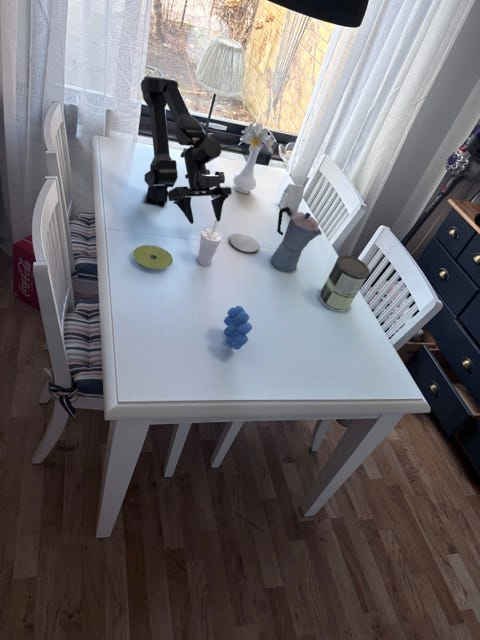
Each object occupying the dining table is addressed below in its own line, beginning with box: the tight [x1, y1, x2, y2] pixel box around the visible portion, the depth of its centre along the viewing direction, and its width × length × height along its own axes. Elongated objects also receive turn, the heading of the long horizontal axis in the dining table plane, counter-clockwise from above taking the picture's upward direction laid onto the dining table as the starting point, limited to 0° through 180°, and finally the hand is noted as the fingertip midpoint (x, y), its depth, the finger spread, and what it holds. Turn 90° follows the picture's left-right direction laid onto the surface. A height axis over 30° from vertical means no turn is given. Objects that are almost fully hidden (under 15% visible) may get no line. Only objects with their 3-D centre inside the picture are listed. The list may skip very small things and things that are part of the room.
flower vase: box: [232, 122, 275, 194], centre depth 181 cm, size 13×18×25 cm
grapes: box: [222, 305, 253, 350], centre depth 118 cm, size 12×7×12 cm, turn 18°
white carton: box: [278, 183, 306, 212], centre depth 185 cm, size 4×7×10 cm, turn 107°
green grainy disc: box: [132, 244, 174, 270], centre depth 137 cm, size 11×11×2 cm
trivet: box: [228, 233, 259, 254], centre depth 158 cm, size 10×10×1 cm
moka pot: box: [270, 207, 322, 273], centre depth 151 cm, size 10×15×20 cm, turn 58°
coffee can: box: [318, 254, 370, 313], centre depth 145 cm, size 10×10×14 cm
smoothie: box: [197, 220, 223, 266], centre depth 140 cm, size 6×6×14 cm
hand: (205, 222), depth 140 cm, fingers open, 9 cm apart
